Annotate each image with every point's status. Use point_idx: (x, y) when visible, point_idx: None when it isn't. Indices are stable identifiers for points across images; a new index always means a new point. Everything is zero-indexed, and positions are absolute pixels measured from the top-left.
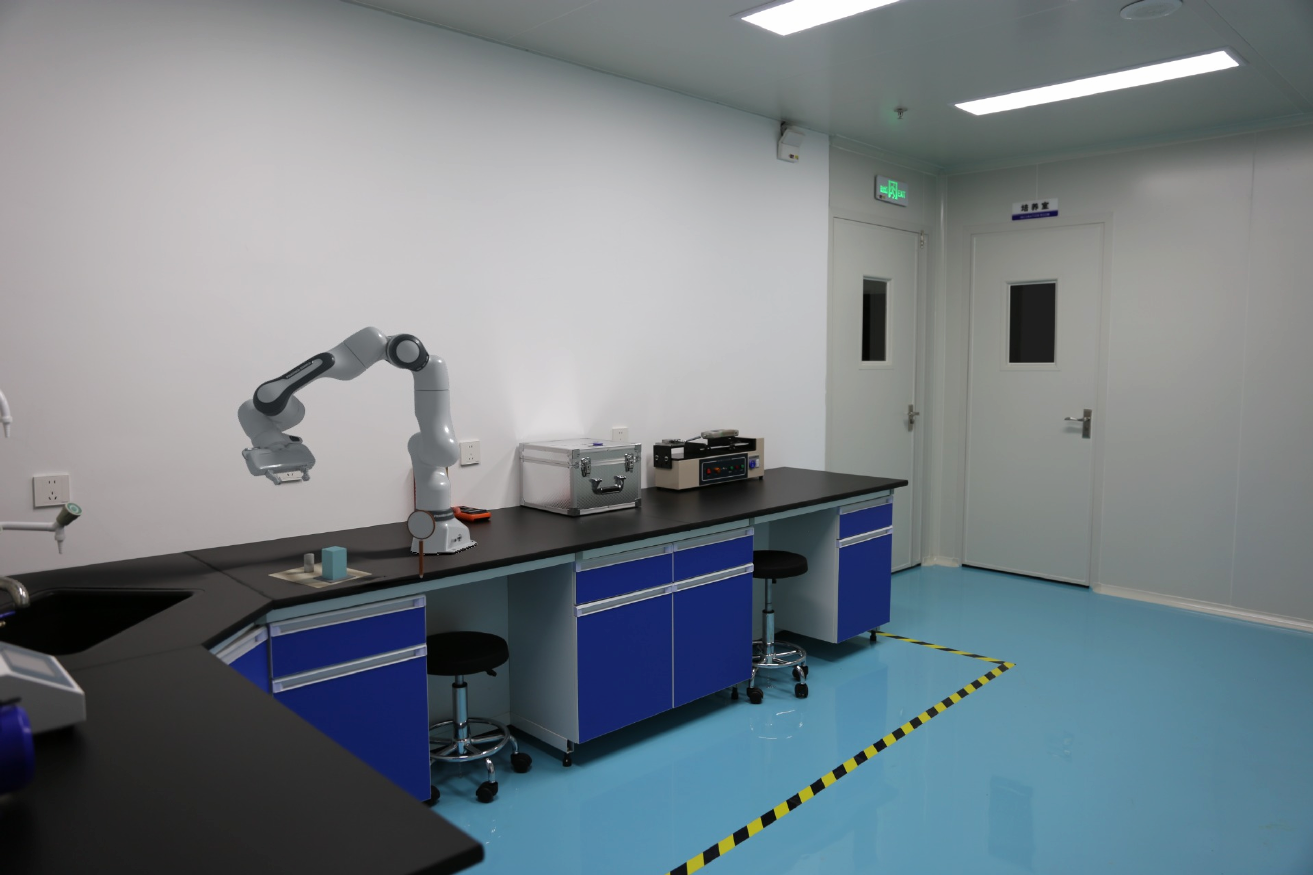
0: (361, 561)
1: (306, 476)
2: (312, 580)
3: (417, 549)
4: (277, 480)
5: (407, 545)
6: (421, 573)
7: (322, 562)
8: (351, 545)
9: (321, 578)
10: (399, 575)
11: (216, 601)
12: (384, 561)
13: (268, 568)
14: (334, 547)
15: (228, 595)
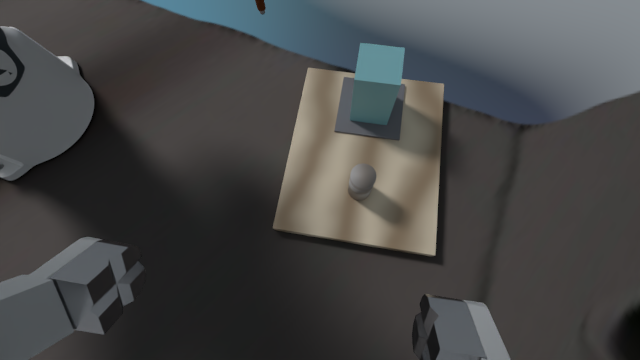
0: (191, 187)
1: (108, 251)
2: (410, 131)
3: (79, 117)
4: (488, 312)
5: (3, 198)
6: (264, 3)
7: (393, 104)
8: None
9: (395, 119)
10: (263, 52)
11: (608, 219)
12: (173, 143)
13: (347, 353)
14: (368, 72)
15: (565, 234)
